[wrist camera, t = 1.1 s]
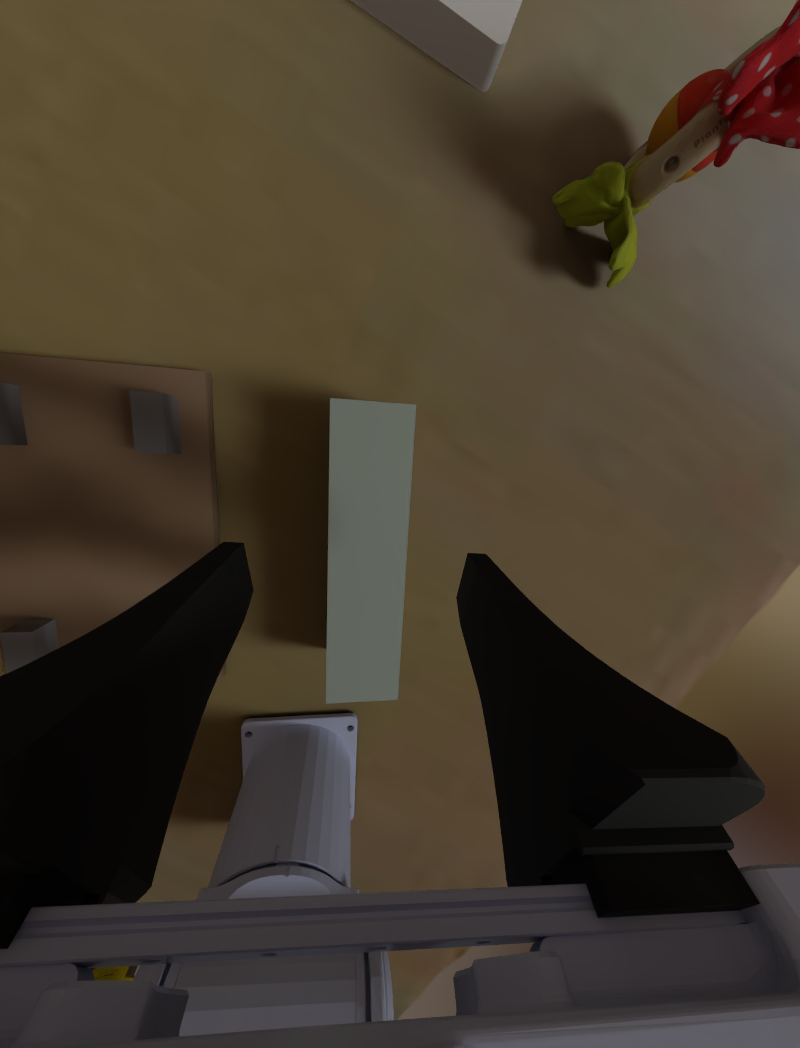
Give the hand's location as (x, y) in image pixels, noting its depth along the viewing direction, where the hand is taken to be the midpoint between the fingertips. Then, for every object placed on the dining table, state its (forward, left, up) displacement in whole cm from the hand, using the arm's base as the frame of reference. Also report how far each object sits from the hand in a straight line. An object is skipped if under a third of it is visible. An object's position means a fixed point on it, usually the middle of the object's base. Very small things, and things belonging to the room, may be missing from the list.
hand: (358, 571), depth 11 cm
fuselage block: (-2, -1, -11) cm, 12 cm away
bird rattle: (+19, -15, -11) cm, 27 cm away
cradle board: (-2, +14, -11) cm, 18 cm away
